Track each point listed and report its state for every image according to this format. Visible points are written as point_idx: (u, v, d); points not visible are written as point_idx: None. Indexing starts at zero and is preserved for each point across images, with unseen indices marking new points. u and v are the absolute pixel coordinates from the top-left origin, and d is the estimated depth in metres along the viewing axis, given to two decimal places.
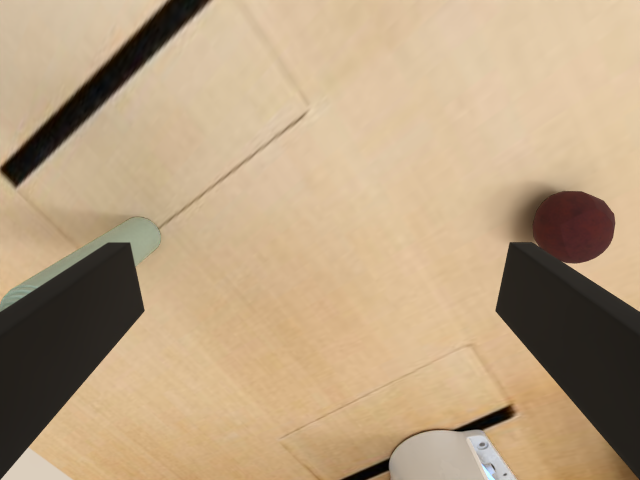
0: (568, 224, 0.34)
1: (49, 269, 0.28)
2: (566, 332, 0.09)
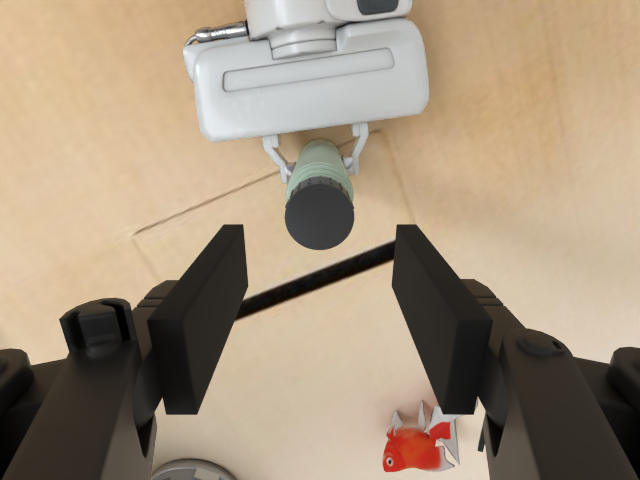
0: None
1: None
2: (416, 295, 0.11)
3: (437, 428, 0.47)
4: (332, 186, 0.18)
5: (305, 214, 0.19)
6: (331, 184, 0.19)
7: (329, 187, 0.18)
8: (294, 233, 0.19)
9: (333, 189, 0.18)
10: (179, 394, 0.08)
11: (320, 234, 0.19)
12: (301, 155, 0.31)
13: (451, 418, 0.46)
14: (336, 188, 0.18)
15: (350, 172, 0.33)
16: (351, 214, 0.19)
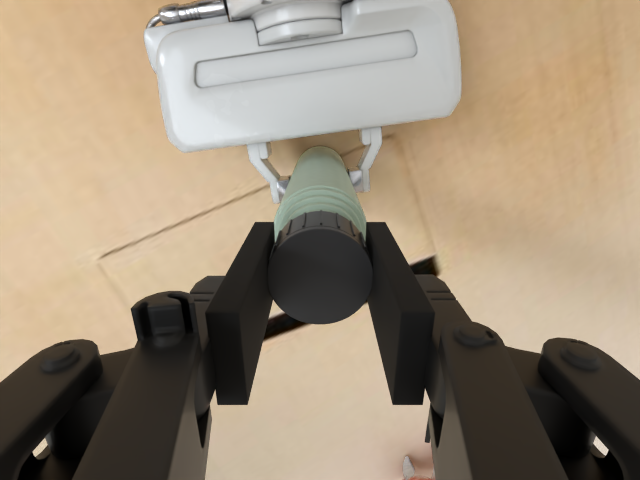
0: None
1: None
2: (377, 290, 0.11)
3: None
4: (340, 232, 0.12)
5: (298, 274, 0.12)
6: (338, 228, 0.12)
7: (335, 234, 0.12)
8: (281, 301, 0.13)
9: (342, 237, 0.12)
10: (231, 385, 0.09)
11: (321, 302, 0.13)
12: (296, 169, 0.24)
13: None
14: (346, 235, 0.12)
15: (358, 189, 0.26)
16: (369, 274, 0.12)
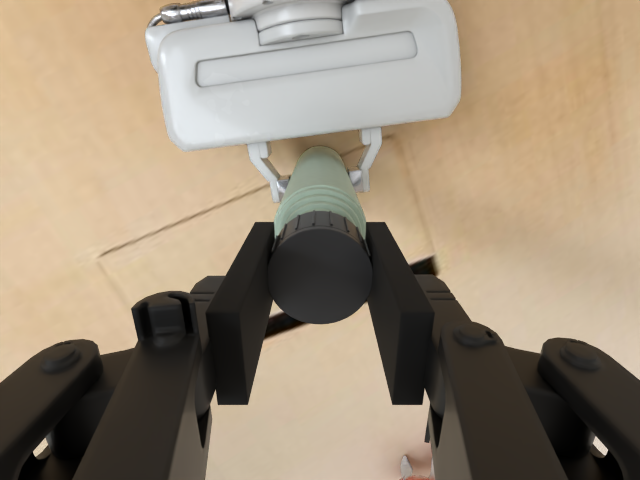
0: None
1: None
2: (377, 290, 0.11)
3: None
4: None
5: (318, 298, 0.13)
6: None
7: (269, 275, 0.12)
8: (352, 307, 0.13)
9: (270, 269, 0.12)
10: (231, 385, 0.09)
11: (345, 272, 0.12)
12: (296, 168, 0.24)
13: None
14: (269, 264, 0.12)
15: (358, 189, 0.26)
16: (302, 235, 0.12)
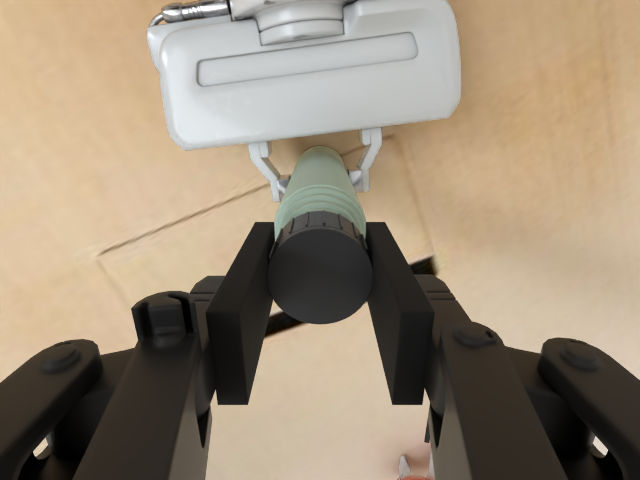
0: None
1: None
2: (377, 290, 0.11)
3: None
4: (323, 322, 0.13)
5: (342, 275, 0.12)
6: None
7: (326, 321, 0.13)
8: (346, 242, 0.12)
9: (320, 321, 0.13)
10: (231, 385, 0.09)
11: (307, 257, 0.12)
12: (297, 168, 0.24)
13: None
14: (316, 322, 0.13)
15: (358, 189, 0.26)
16: (279, 302, 0.13)
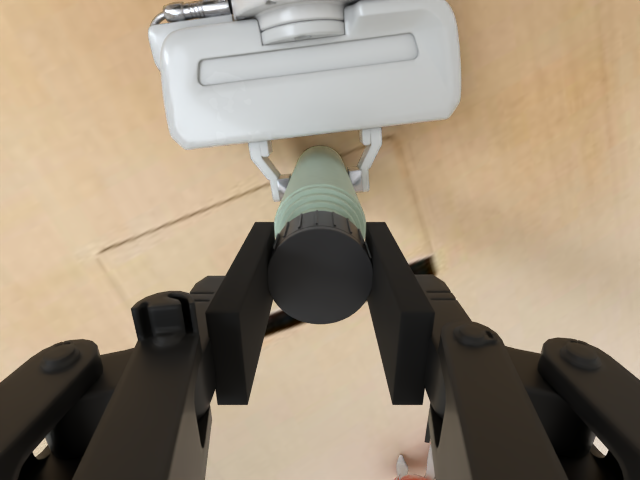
0: None
1: None
2: (377, 290, 0.11)
3: None
4: (371, 264, 0.12)
5: (311, 260, 0.12)
6: (370, 260, 0.12)
7: (368, 263, 0.12)
8: (275, 264, 0.12)
9: (369, 269, 0.12)
10: (231, 385, 0.09)
11: (300, 294, 0.12)
12: (297, 167, 0.24)
13: None
14: (372, 271, 0.12)
15: (358, 189, 0.26)
16: (353, 309, 0.13)
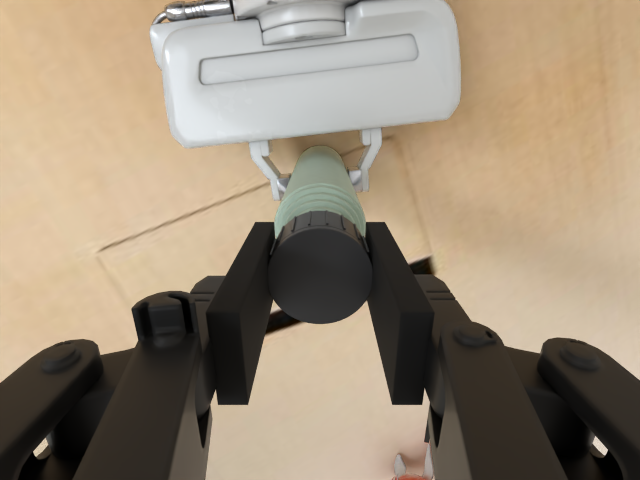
0: None
1: None
2: (377, 290, 0.11)
3: None
4: (293, 234, 0.12)
5: (302, 290, 0.12)
6: (292, 232, 0.12)
7: (291, 239, 0.12)
8: (314, 318, 0.13)
9: (297, 237, 0.12)
10: (232, 385, 0.09)
11: (341, 293, 0.12)
12: (297, 167, 0.24)
13: None
14: (300, 232, 0.12)
15: (357, 189, 0.27)
16: (348, 240, 0.12)
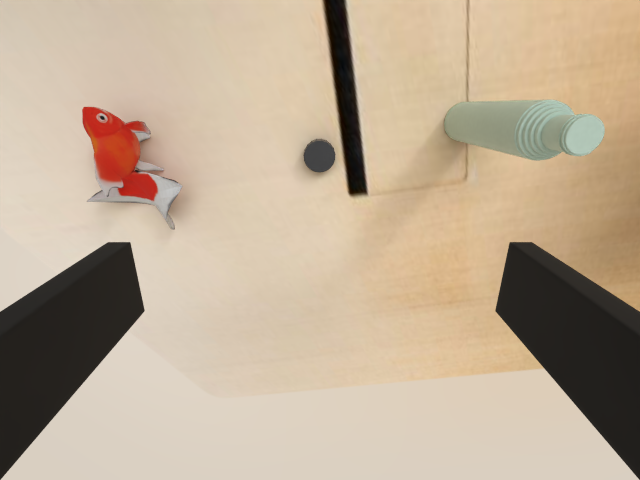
0: None
1: (502, 118, 0.29)
2: (566, 332, 0.09)
3: (146, 183, 0.41)
4: (312, 142, 0.42)
5: (314, 160, 0.42)
6: (311, 142, 0.42)
7: (311, 144, 0.42)
8: (317, 170, 0.43)
9: (313, 143, 0.42)
10: None
11: (325, 161, 0.42)
12: None
13: (162, 200, 0.41)
14: (313, 142, 0.42)
15: None
16: (327, 144, 0.42)
